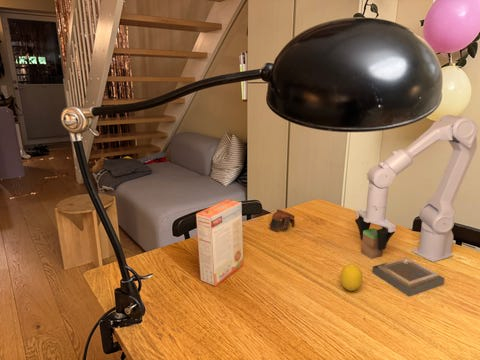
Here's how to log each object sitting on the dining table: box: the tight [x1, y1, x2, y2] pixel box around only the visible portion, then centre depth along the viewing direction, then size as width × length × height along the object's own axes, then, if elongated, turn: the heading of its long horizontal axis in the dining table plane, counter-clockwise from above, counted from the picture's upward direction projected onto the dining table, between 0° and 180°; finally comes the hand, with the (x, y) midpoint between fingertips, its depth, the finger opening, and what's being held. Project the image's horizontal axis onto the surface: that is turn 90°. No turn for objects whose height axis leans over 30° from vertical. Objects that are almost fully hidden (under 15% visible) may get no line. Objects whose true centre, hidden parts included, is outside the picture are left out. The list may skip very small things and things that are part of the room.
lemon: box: [339, 263, 363, 292], centre depth 91 cm, size 6×6×8 cm
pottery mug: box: [268, 209, 296, 233], centre depth 132 cm, size 12×10×8 cm
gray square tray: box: [371, 256, 445, 297], centre depth 97 cm, size 13×13×3 cm
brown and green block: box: [360, 227, 384, 260], centre depth 111 cm, size 4×4×8 cm
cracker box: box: [195, 198, 244, 287], centre depth 99 cm, size 14×6×21 cm, turn 145°
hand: (372, 244), depth 111 cm, fingers open, 7 cm apart
